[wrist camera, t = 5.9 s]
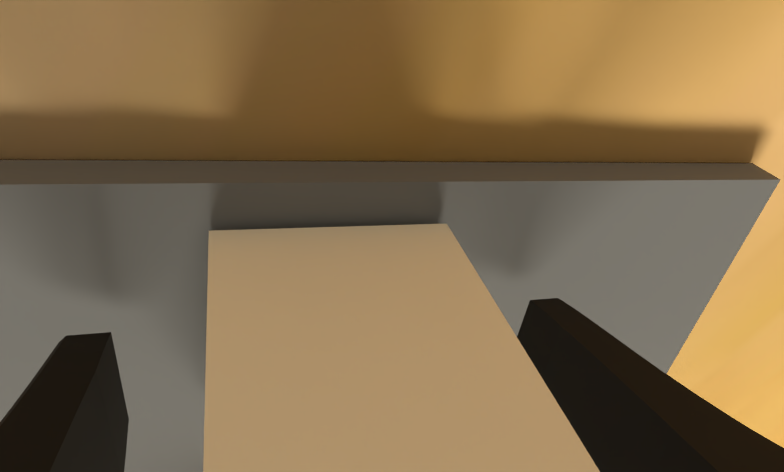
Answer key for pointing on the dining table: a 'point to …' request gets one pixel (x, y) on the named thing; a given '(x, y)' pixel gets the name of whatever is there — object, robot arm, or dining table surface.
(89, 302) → the mat
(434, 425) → the block
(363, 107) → the dining table surface
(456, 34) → the dining table surface
